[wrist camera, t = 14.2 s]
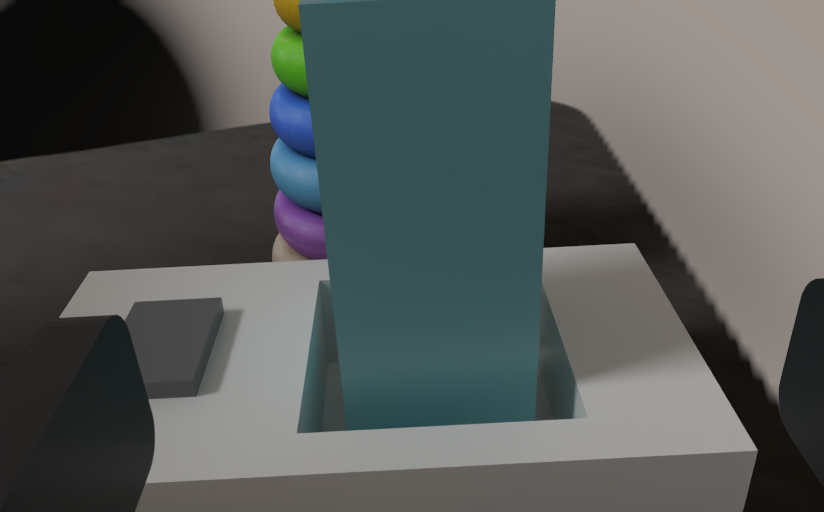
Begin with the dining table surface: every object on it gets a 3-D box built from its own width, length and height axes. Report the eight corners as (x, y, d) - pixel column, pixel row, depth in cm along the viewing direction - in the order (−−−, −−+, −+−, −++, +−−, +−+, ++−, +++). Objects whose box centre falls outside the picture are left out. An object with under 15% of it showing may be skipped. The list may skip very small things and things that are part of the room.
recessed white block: (1, 615, 18) (-68, 476, 15) (119, 373, 25) (85, 257, 23) (726, 576, 18) (762, 432, 15) (622, 346, 26) (636, 229, 23)
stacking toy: (235, 279, 31) (129, -288, 21) (373, 209, 36) (335, -274, 26) (375, 353, 26) (318, -333, 17) (511, 260, 31) (525, -306, 22)
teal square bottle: (354, 495, 19) (283, -124, 12) (358, 381, 23) (306, -137, 16) (531, 484, 19) (562, -139, 12) (505, 372, 23) (517, -147, 16)
